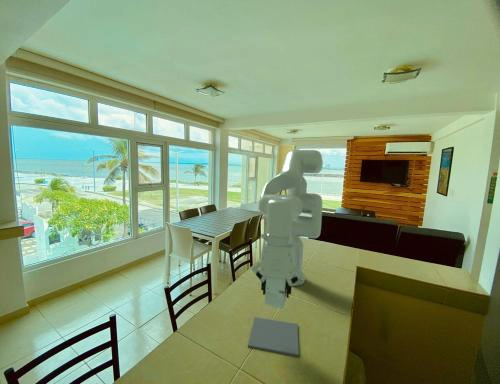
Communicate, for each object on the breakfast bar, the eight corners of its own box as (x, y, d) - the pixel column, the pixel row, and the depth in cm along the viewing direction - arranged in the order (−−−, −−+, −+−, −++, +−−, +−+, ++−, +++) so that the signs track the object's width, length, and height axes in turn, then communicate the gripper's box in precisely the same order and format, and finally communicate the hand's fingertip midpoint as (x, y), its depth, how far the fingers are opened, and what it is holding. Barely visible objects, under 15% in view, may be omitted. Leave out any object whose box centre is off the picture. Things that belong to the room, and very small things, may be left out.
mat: (254, 318, 75) (254, 316, 75) (297, 325, 72) (297, 323, 72) (247, 346, 63) (247, 344, 63) (298, 356, 61) (298, 354, 60)
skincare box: (264, 304, 65) (265, 267, 64) (268, 296, 69) (269, 261, 68) (283, 310, 63) (285, 272, 61) (286, 301, 67) (288, 265, 66)
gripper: (247, 240, 62) (246, 297, 64) (308, 246, 58) (305, 305, 61) (252, 232, 69) (251, 283, 71) (306, 237, 66) (303, 290, 68)
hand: (276, 293), depth 66 cm, fingers closed on skincare box, 6 cm apart
